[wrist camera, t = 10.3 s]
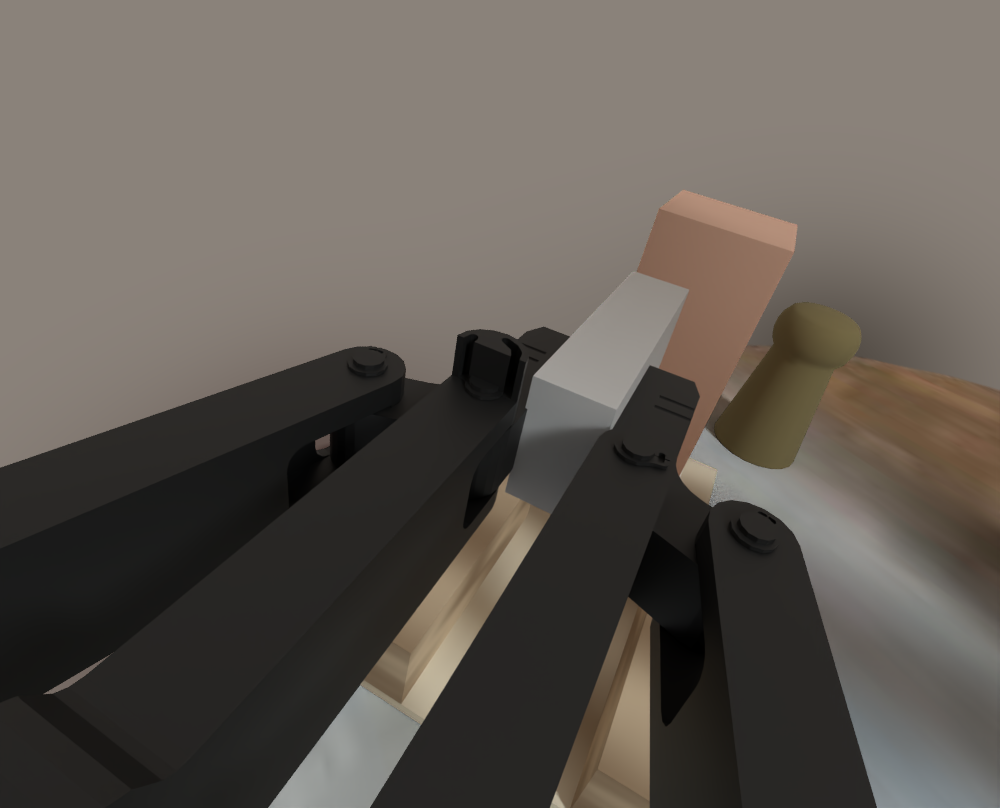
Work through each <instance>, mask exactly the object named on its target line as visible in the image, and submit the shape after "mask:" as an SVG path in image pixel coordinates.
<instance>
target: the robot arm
mask: <svg viewBox="0 0 1000 808" xmlns="http://www.w3.org/2000/svg"><path fill="white" fill-rule="evenodd" d="M688 292H689V289H686V288H683V287H680V286H677V285H674V284H671V283H668V282H665V281H662V280H659V279H656V278H653V277H650V276H647V275H644V274H641V273H638V272H635V271H633V272H632V273H631V274H630V275H629V276H628V277H627V278H626V279H625V280H624V281H623V282H622V283H621V284H620V285H619V286H618V287H617V288H616V289H615V290H614V291H613V293H612V294H611V295H610V296H609V297H608V298H607V299H606V300H605V301H604V302H603V303H602V304H601V305H600V306H599V307H598V308H597V310H595V311H594V313H593V314H592V315H591V316H590V317H589V318H588V319H587V320H586V321H585V322H584V323H583V324H582V325H581V326H580V327H579V328H578V329H577V330H576V331H575V332H574V333H573V335H572V336H571V337H570V336H567V335H564V334H562V333H559V332H556V331H554V330H551V329H548V328H546V327H541V328H538V329H534V330H531V331H527V332H526V333H525V334H523V336H521V337H520V338H519V339H518V340H517V339H515V338H513V337H512V336H510V335H508V334H504V333H500V332H497V331H492V330H481V329H479V330H471V331H466V332H464V333H462V334H459V335H458V337H457V343H456V350H455V357H454V365H453V371H452V375H451V376H450V377H449V378H448V379H446V380H445V381H444V382H443V383H442V384H433V383H427V382H422V381H417V380H412V379H407V378H405V372H406V368H405V364H404V361H403V360H402V359H401V358H400V357H399V356H398V355H396V354H394V353H392V352H390V351H388V350H385V349H382V348H377V347H372V346H369V347H354V348H349V349H345V350H342V351H339V352H336V353H333V354H330V355H327V356H324V357H321V358H319V359H315V360H313V361H310V362H307V363H304V364H301V365H298V366H295V367H292V368H290V369H286V370H284V371H281V372H278V373H275V374H272V375H269V376H266V377H263V378H260V379H257V380H254V381H252V382H249V383H246V384H243V385H240V386H237V387H234V388H231V389H228V390H225V391H222V392H219V393H217V394H214V395H211V396H208V397H205V398H202V399H199V400H196V401H194V402H190V403H187V404H185V405H182V406H179V407H176V408H173V409H170V410H167V411H165V412H162V413H159V414H155V415H153V416H150V417H147V418H144V419H141V420H138V421H135V422H132V423H129V424H127V425H123V426H121V427H118V428H115V429H112V430H109V431H106V432H103V433H100V434H97V435H95V436H92V437H89V438H86V439H83V440H80V441H77V442H74V443H71V444H68V445H65V446H62V447H60V448H57V449H54V450H51V451H48V452H45V453H42V454H40V455H36V456H34V457H31V458H28V459H25V460H22V461H19V462H16V463H13V464H10V465H7V466H4V467H1V468H0V808H268V807H269V806H270V804H271V803H272V802H273V800H274V799H275V798H276V796H277V795H278V794H279V792H280V791H281V790H282V788H283V787H284V786H285V784H286V783H287V782H288V780H289V779H290V778H291V776H292V775H293V774H294V772H295V771H296V770H297V768H298V767H299V766H300V764H301V763H302V762H303V760H304V759H305V758H306V756H307V755H308V754H309V752H310V751H311V750H312V748H313V747H314V746H315V744H316V743H317V742H318V740H319V739H320V738H321V736H322V735H323V734H324V732H325V731H326V730H327V728H328V727H329V726H330V724H331V723H332V722H333V720H334V719H335V718H336V716H337V715H338V714H339V712H340V711H341V710H342V708H343V707H344V706H345V704H346V703H347V702H348V700H349V699H350V698H351V696H352V695H353V694H354V692H355V691H356V690H357V688H358V687H359V686H360V684H361V683H362V682H363V680H364V679H365V678H366V676H367V675H368V674H369V672H370V671H371V670H372V668H373V667H374V666H375V664H376V663H377V662H378V660H379V659H380V658H381V656H382V655H383V654H384V652H385V651H386V650H387V648H388V647H389V646H390V644H391V643H392V642H393V640H394V639H395V638H396V636H397V635H398V634H399V632H400V631H401V630H402V628H403V627H404V626H405V624H406V623H407V622H408V620H409V619H410V618H411V616H412V615H413V614H414V612H415V611H416V610H417V608H418V607H419V606H420V604H421V603H422V602H423V600H424V599H425V598H426V596H427V595H428V594H429V592H430V591H431V590H432V588H433V587H434V586H435V584H436V583H437V582H438V580H439V579H440V578H441V576H442V575H443V574H444V572H445V571H446V570H447V568H448V567H449V566H450V564H451V563H452V562H453V560H454V559H455V558H456V556H457V555H458V554H459V552H460V551H461V550H462V548H463V547H464V546H465V544H466V543H467V542H468V540H469V539H470V538H471V536H472V535H473V534H474V532H475V531H476V530H477V528H478V527H479V526H480V524H481V523H482V522H483V520H484V519H485V518H486V516H487V515H488V514H489V512H490V511H491V510H492V508H493V506H494V503H495V501H496V497H497V493H498V488H499V486H500V485H501V483H502V482H503V481H504V479H505V478H506V477H507V476H508V474H509V477H508V481H507V485H506V490H505V492H506V493H508V494H510V495H512V496H514V497H516V498H519V499H521V500H523V501H525V502H527V503H529V504H531V505H533V506H535V507H537V508H539V509H541V510H544V511H546V512H548V513H550V514H551V515H550V517H549V518H548V520H547V522H546V523H545V525H544V527H543V528H542V530H541V531H540V533H539V535H538V536H537V538H536V540H535V541H534V543H533V544H532V546H531V548H530V549H529V551H528V553H527V554H526V556H525V557H524V559H523V561H522V562H521V564H520V565H519V567H518V569H517V570H516V572H515V574H514V575H513V577H512V578H511V580H510V582H509V583H508V585H507V587H506V588H505V590H504V591H503V593H502V595H501V596H500V598H499V600H498V601H497V603H496V604H495V606H494V608H493V609H492V611H491V613H490V614H489V616H488V617H487V619H486V621H485V622H484V624H483V625H482V627H481V629H480V630H479V632H478V634H477V635H476V637H475V638H474V640H473V642H472V643H471V645H470V647H469V648H468V650H467V651H466V653H465V655H464V656H463V658H462V660H461V661H460V663H459V664H458V666H457V668H456V669H455V671H454V672H453V674H452V676H451V677H450V679H449V681H448V682H447V684H446V685H445V687H444V689H443V690H442V692H441V694H440V695H439V697H438V698H437V700H436V702H435V703H434V705H433V707H432V708H431V710H430V711H429V713H428V715H427V716H426V718H425V720H424V721H423V723H422V724H421V726H420V728H419V729H418V731H417V732H416V734H415V736H414V737H413V739H412V741H411V742H410V744H409V745H408V747H407V749H406V750H405V752H404V754H403V755H402V757H401V758H400V760H399V762H398V763H397V765H396V767H395V768H394V770H393V771H392V773H391V775H390V776H389V778H388V779H387V781H386V783H385V784H384V786H383V788H382V789H381V791H380V792H379V794H378V796H377V797H376V799H375V801H374V802H373V804H372V805H371V807H370V808H550V806H551V804H552V801H553V798H554V795H555V793H556V790H557V787H558V785H559V782H560V779H561V777H562V774H563V771H564V768H565V766H566V763H567V760H568V758H569V755H570V752H571V750H572V747H573V744H574V742H575V739H576V736H577V733H578V731H579V728H580V725H581V723H582V720H583V717H584V715H585V712H586V709H587V706H588V704H589V701H590V698H591V696H592V693H593V690H594V688H595V685H596V682H597V679H598V677H599V674H600V671H601V669H602V666H603V663H604V661H605V658H606V655H607V653H608V650H609V647H610V644H611V642H612V639H613V636H614V634H615V631H616V628H617V626H618V623H619V620H620V617H621V615H622V612H623V609H624V607H625V604H626V601H627V599H628V597H629V598H630V599H631V600H632V601H634V602H635V603H636V604H637V605H638V606H639V607H640V608H642V609H643V610H644V611H645V612H646V613H647V614H648V615H650V616H651V617H652V621H651V625H650V808H877V806H876V803H875V799H874V796H873V793H872V789H871V786H870V782H869V779H868V776H867V772H866V769H865V765H864V762H863V759H862V755H861V752H860V748H859V745H858V742H857V738H856V735H855V731H854V728H853V725H852V721H851V718H850V714H849V711H848V708H847V704H846V701H845V697H844V694H843V691H842V687H841V684H840V680H839V677H838V674H837V670H836V667H835V663H834V660H833V656H832V653H831V650H830V646H829V643H828V639H827V636H826V633H825V629H824V626H823V622H822V619H821V616H820V612H819V609H818V605H817V602H816V599H815V595H814V592H813V588H812V585H811V582H810V578H809V575H808V571H807V568H806V565H805V561H804V558H803V554H802V551H801V548H800V545H799V543H798V541H797V540H796V538H795V536H794V534H793V532H792V531H791V530H790V529H789V528H788V527H787V526H786V525H785V524H784V523H783V522H782V521H781V520H780V519H778V518H777V517H775V516H774V515H772V514H771V513H769V512H768V511H766V510H765V509H762V508H760V507H757V506H755V505H752V504H750V503H747V502H740V501H734V500H730V501H724V502H719V503H717V504H716V505H715V506H714V507H713V508H712V507H711V506H710V505H708V504H707V503H705V502H704V501H702V500H701V499H700V498H698V497H697V496H696V495H695V494H694V493H692V492H691V491H690V490H689V489H688V488H687V486H686V485H685V484H684V483H683V482H682V480H681V478H680V476H679V475H678V472H677V468H676V463H677V458H678V455H679V452H680V450H681V447H682V444H683V441H684V439H685V436H686V433H687V431H688V428H689V425H690V423H691V420H692V417H693V414H694V412H695V409H696V406H697V404H698V401H699V398H700V395H699V392H698V390H697V387H696V384H695V382H693V381H691V380H688V379H685V378H683V377H680V376H677V375H675V374H672V373H669V372H667V371H664V370H662V369H659V366H660V364H661V361H662V359H663V356H664V354H665V351H666V349H667V346H668V343H669V341H670V338H671V336H672V333H673V331H674V328H675V325H676V323H677V320H678V318H679V315H680V313H681V310H682V308H683V305H684V302H685V300H686V297H687V295H688ZM328 434H330V446H329V447H327V448H325V449H321V450H317V451H316V449H315V440H317V439H319V438H321V437H324V436H326V435H328ZM113 652H114V653H113ZM110 654H111V655H110ZM108 655H110V656H109V657H108V658H106V659H105V660H104V661H103V662H102V663H100V664H99V665H98V666H97V667H95V668H94V669H93V670H92V671H90V672H89V673H88V674H87V675H86V676H84V677H83V678H81V679H80V680H78V681H77V682H75V683H74V684H73V685H71V686H70V687H68V688H65V689H63V690H61V691H58V692H56V693H54V694H44V693H46V692H47V691H49V690H51V689H52V688H54V687H56V686H57V685H59V684H61V683H63V682H64V681H66V680H68V679H69V678H71V677H73V676H74V675H76V674H78V673H80V672H81V671H83V670H85V669H86V668H88V667H90V666H91V665H93V664H95V663H96V662H98V661H100V660H102V659H103V658H105V657H107V656H108Z"/></svg>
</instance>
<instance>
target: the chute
mask: <svg viewBox="0 0 1000 808" xmlns="http://www.w3.org/2000/svg"><path fill="white" fill-rule="evenodd" d="M716 474H717V470H716V469H714V468H712V467H710V466H707V465H705V464H703V463H700V462H698V461H696V460H694V459H691V458H688V460H687V462H686V464H685V466H684V468H683V470H682V472H681V474H680V478H681V480H682V482H683V483H684V484H685V485H686V486H687V488H688V489H689V490H690V491H691V492H692V493H694V494H695V495H696V496H697V497H698V498H700V499H701V500H702V501H704V502H705V503H707V504H708V505H709V501H710V497H711V493H712V489H713V485H714V481H715V477H716ZM508 477H509V474H508V476H507V477H506V478H505V479H504V481H503V482H502V483H501V485H500V486H499V488H498V493H497V497H496V501H495V503H494V506H493V508H492V510H491V511H490V512H489V514H488V515H487V516H486V518H485V519H484V520H483V522H482V523H481V524H480V526H479V527H478V528H477V530H476V531H475V532H474V534H473V535H472V536H471V538H470V539H469V540H468V542H467V543H466V544H465V546H464V547H463V548H462V550H461V551H460V552H459V554H458V555H457V556H456V558H455V559H454V560H453V562H452V563H451V564H450V566H449V567H448V568H447V570H446V571H445V572H444V574H443V575H442V576H441V578H440V579H439V580H438V582H437V583H436V584H435V586H434V587H433V588H432V590H431V591H430V592H429V594H428V595H427V596H426V598H425V599H424V600H423V602H422V603H421V604H420V606H419V607H418V608H417V610H416V611H415V612H414V614H413V615H412V616H411V618H410V619H409V620H408V622H407V623H406V624H405V626H404V627H403V628H402V630H401V631H400V632H399V634H398V635H397V636H396V638H395V639H394V640H393V642H392V643H391V644H390V646H389V647H388V648H387V650H386V651H385V652H384V654H383V655H382V656H381V658H380V659H379V660H378V662H377V663H376V664H375V666H374V667H373V668H372V670H371V671H370V672H369V674H368V675H367V676H366V678H365V679H364V680H363V682H362V683H361V684H360V685H361V686H363V687H364V688H366V689H367V690H369V691H370V692H372V693H373V694H375V695H376V696H378V697H380V698H381V699H383V700H384V701H386V702H387V703H389V704H390V705H392V706H393V707H395V708H396V709H398V710H399V711H401V712H402V713H404V714H405V715H407V716H409V717H410V718H412V719H413V720H415V721H416V722H418V723H419V724H422V723H423V721H424V720H425V718H426V716H427V715H428V713H429V711H430V710H431V708H432V707H433V705H434V703H435V702H436V700H437V698H438V697H439V695H440V694H441V692H442V690H443V689H444V687H445V685H446V684H447V682H448V681H449V679H450V677H451V676H452V674H453V672H454V671H455V669H456V668H457V666H458V664H459V663H460V661H461V660H462V658H463V656H464V655H465V653H466V651H467V650H468V648H469V647H470V645H471V643H472V642H473V640H474V638H475V637H476V635H477V634H478V632H479V630H480V629H481V627H482V625H483V624H484V622H485V621H486V619H487V617H488V616H489V614H490V613H491V611H492V609H493V608H494V606H495V604H496V603H497V601H498V600H499V598H500V596H501V595H502V593H503V591H504V590H505V588H506V587H507V585H508V583H509V582H510V580H511V578H512V577H513V575H514V574H515V572H516V570H517V569H518V567H519V565H520V564H521V562H522V561H523V559H524V557H525V556H526V554H527V553H528V551H529V549H530V548H531V546H532V544H533V543H534V541H535V540H536V538H537V536H538V535H539V533H540V531H541V530H542V528H543V527H544V525H545V523H546V522H547V520H548V518H549V517H550V515H551V514H550V513H548V512H546V511H544V510H541V509H539V508H537V507H535V506H533V505H531V504H529V503H527V502H525V501H523V500H521V499H519V498H516V497H514V496H512V495H510V494H508V493H506V492H505V490H506V485H507V481H508ZM651 621H652V617H651V616H650V615H648V614H647V613H646V612H645V611H644V610H643V609H642V608H640V607H639V606H638V605H637V604H636V603H635V602H634V601H632V600H631V599H630V598H629V597H628V599H627V601H626V604H625V607H624V609H623V612H622V615H621V617H620V620H619V623H618V626H617V628H616V631H615V634H614V636H613V639H612V642H611V644H610V647H609V650H608V653H607V655H606V658H605V661H604V663H603V666H602V669H601V671H600V674H599V677H598V679H597V682H596V685H595V688H594V690H593V693H592V696H591V698H590V701H589V704H588V706H587V709H586V712H585V715H584V717H583V720H582V723H581V725H580V728H579V731H578V733H577V736H576V739H575V742H574V744H573V747H572V750H571V752H570V755H569V758H568V760H567V763H566V766H565V768H564V771H563V774H562V777H561V779H560V782H559V785H558V787H557V790H556V793H555V795H554V798H553V801H552V804H551V806H550V808H650V625H651Z"/></svg>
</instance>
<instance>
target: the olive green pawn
mask: <svg viewBox="0 0 1000 808" xmlns="http://www.w3.org/2000/svg"><path fill="white" fill-rule="evenodd" d="M773 342H774V344H773V346H772V347H771V348H770V350H769V351H768V352H767V354H766V355H765V357H764V358H763V359H762V361H761V362H760V363H759V365H758V366H757V367H756V369H755V370H754V371H753V373H752V374H751V376H750V377H749V378H748V380H747V381H746V382H745V384H744V385H743V386H742V388H741V389H740V391H739V392H738V393H737V395H736V396H735V397H734V399H733V400H732V401H731V403H730V404H729V405H728V407H727V408H726V410H725V411H724V412H723V414H722V415H721V416H720V418H719V419H718V420H717V422H716V423H715V427H714V431H715V434H716V437H717V438H718V439H719V441H720V442H721V443H722V445H723V446H725V447H726V448H727V449H728V450H729V451H730V452H732V453H733V454H735V455H736V456H738V457H740V458H741V459H743V460H745V461H747V462H750V463H752V464H755V465H757V466H761V467H765V468H770V469H783V468H786V467H789V466H790V465H791V464H792V462H793V461H794V459H795V457H796V454H797V452H798V450H799V448H800V445H801V443H802V441H803V439H804V436H805V434H806V432H807V430H808V427H809V425H810V423H811V421H812V418H813V416H814V414H815V411H816V409H817V407H818V405H819V402H820V400H821V398H822V396H823V393H824V391H825V389H826V387H827V384H828V382H829V380H830V378H831V375H832V373H833V371H834V370H835V369H837V368H840V367H842V366H844V365H845V364H846V363H847V362H848V361H849V360H850V359H851V358H852V357H853V356H854V355H855V353H856V352H857V350H858V349H859V346H860V343H861V331H860V328H859V326H858V325H857V324H856V323H855V322H854V321H853V320H852V319H851V318H849V317H848V316H846V315H845V314H843V313H841V312H839V311H837V310H834V309H832V308H829V307H826V306H823V305H820V304H815V303H809V302H803V303H795V304H793V305H792V306H790V307H789V308H787V309H785V310H784V311H783V312H782V313H781V315H780V316H779V317H778V319H777V321H776V323H775V325H774V329H773Z"/></svg>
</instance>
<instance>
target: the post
mask: <svg viewBox="0 0 1000 808" xmlns="http://www.w3.org/2000/svg"><path fill="white" fill-rule="evenodd" d="M796 233H797V225H796V224H793V223H789V222H786V221H783V220H780V219H776V218H773V217H770V216H767V215H764V214H760V213H757V212H754V211H751V210H747V209H744V208H741V207H738V206H735V205H731V204H728V203H725V202H722V201H718V200H715V199H712V198H709V197H705V196H702V195H699V194H695V193H692V192H689V191H686V190H682V191H681V192H680V193H679V194H677V195H676V196H675V197H673V198H672V199H671V200H670V201H668V202H667V203H666V204H664V205H663V206H662V207H661V208H659V210H658V213H657V216H656V219H655V222H654V225H653V228H652V230H651V233H650V236H649V239H648V242H647V244H646V247H645V250H644V253H643V256H642V258H641V261H640V264H639V267H638V270H637V272H638V273H641V274H644V275H647V276H650V277H653V278H656V279H659V280H662V281H665V282H668V283H671V284H674V285H677V286H680V287H683V288H686V289H689V292H688V295H687V297H686V300H685V302H684V305H683V308H682V310H681V313H680V315H679V318H678V320H677V323H676V325H675V328H674V331H673V333H672V336H671V338H670V341H669V343H668V346H667V349H666V351H665V354H664V356H663V359H662V361H661V364H660V366H659V369H662V370H664V371H667V372H669V373H672V374H675V375H677V376H680V377H683V378H685V379H688V380H691V381H693V382H695V384H696V387H697V390H698V392H699V395H700V398H699V401H698V404H697V406H696V409H695V412H694V414H693V417H692V420H691V423H690V425H689V428H688V431H687V433H686V436H685V439H684V441H683V444H682V447H681V450H680V452H679V455H678V458H677V463H676V468H677V472H678V475H679V476H680V474H681V472H682V470H683V468H684V466H685V464H686V462H687V460H688V458H689V456H690V455H691V453H692V451H693V449H694V447H695V445H696V443H697V441H698V439H699V437H700V435H701V433H702V431H703V429H704V427H705V425H706V423H707V421H708V419H709V417H710V416H711V414H712V412H713V410H714V408H715V406H716V404H717V402H718V400H719V398H720V396H721V394H722V392H723V390H724V388H725V386H726V384H727V382H728V380H729V378H730V377H731V375H732V373H733V371H734V369H735V367H736V365H737V363H738V361H739V359H740V357H741V355H742V353H743V351H744V349H745V347H746V345H747V343H748V341H749V339H750V337H751V336H752V334H753V332H754V330H755V328H756V326H757V324H758V322H759V320H760V318H761V316H762V314H763V312H764V310H765V308H766V306H767V304H768V302H769V300H770V298H771V297H772V295H773V292H774V291H775V289H776V287H777V285H778V283H779V281H780V279H781V277H782V275H783V273H784V271H785V269H786V267H787V265H788V263H789V261H790V259H791V258H792V255H793V254H794V250H795V242H796Z"/></svg>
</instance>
